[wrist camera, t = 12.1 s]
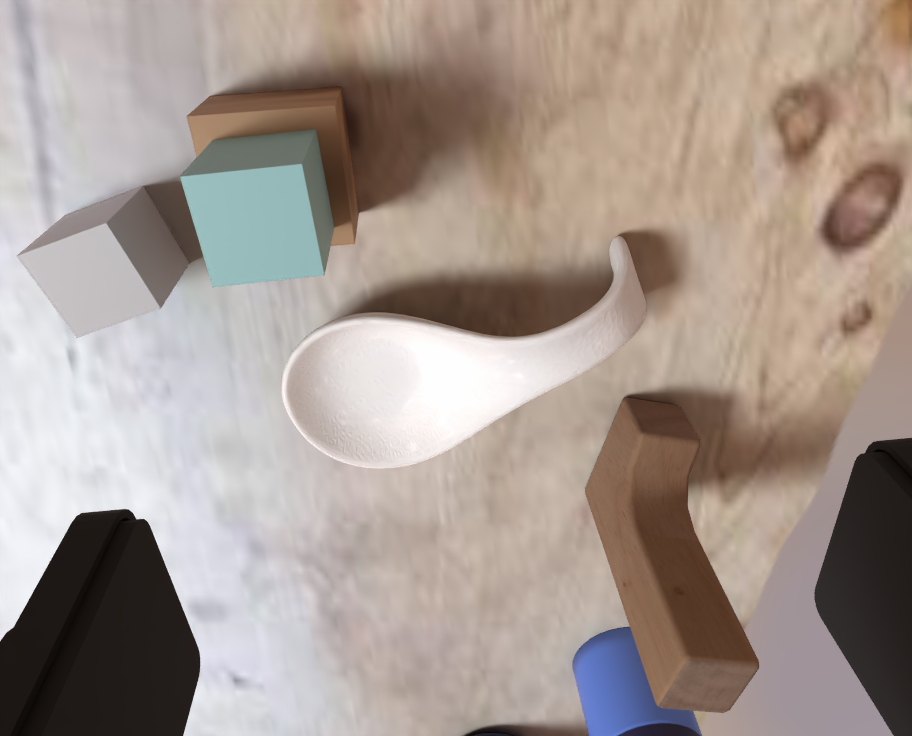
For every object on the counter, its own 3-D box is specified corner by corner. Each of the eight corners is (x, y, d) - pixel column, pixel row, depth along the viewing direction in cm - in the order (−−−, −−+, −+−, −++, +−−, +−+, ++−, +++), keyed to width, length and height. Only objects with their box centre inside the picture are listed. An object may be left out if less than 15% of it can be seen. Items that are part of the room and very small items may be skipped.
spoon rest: (344, 460, 51) (336, 531, 45) (253, 333, 45) (231, 395, 39) (654, 331, 47) (693, 390, 41) (600, 174, 41) (635, 216, 35)
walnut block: (210, 95, 37) (186, 116, 33) (341, 86, 38) (335, 105, 33) (239, 221, 41) (221, 254, 37) (358, 211, 41) (354, 243, 37)
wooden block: (622, 394, 49) (722, 600, 34) (680, 403, 50) (805, 609, 35) (582, 490, 54) (655, 711, 38) (636, 497, 55) (729, 716, 39)
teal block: (212, 139, 34) (179, 176, 29) (316, 129, 34) (301, 163, 29) (238, 237, 36) (212, 287, 31) (334, 227, 36) (324, 275, 31)
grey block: (65, 214, 40) (16, 255, 35) (143, 185, 39) (106, 222, 34) (115, 289, 43) (76, 338, 38) (189, 263, 42) (160, 308, 37)
